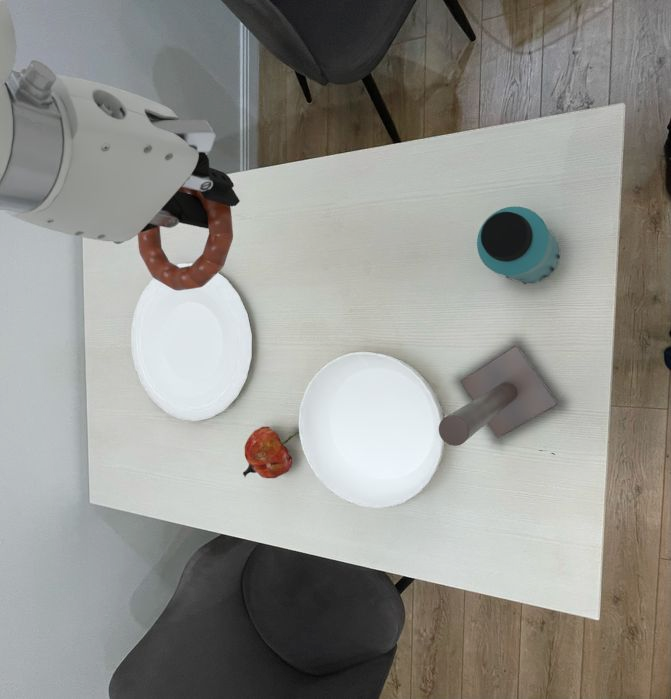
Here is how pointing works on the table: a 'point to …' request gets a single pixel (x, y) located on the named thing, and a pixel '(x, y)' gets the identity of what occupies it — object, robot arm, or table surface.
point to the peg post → (498, 398)
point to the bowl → (371, 429)
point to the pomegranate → (267, 454)
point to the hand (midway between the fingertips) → (217, 202)
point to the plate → (192, 347)
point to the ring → (205, 263)
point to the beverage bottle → (518, 245)
